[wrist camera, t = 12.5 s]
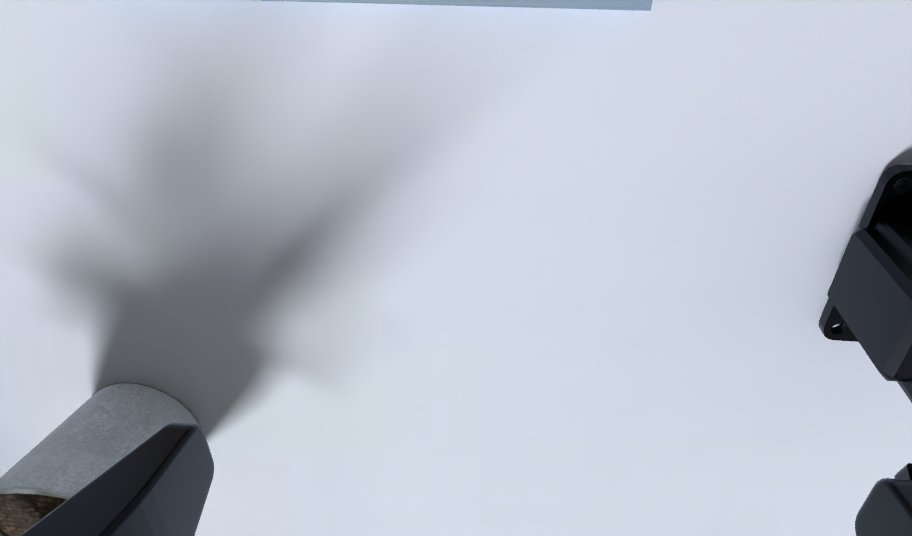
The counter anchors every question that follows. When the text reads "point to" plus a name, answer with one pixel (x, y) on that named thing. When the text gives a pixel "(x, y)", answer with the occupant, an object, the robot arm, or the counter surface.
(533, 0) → the board
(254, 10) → the counter surface
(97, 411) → the house plant
